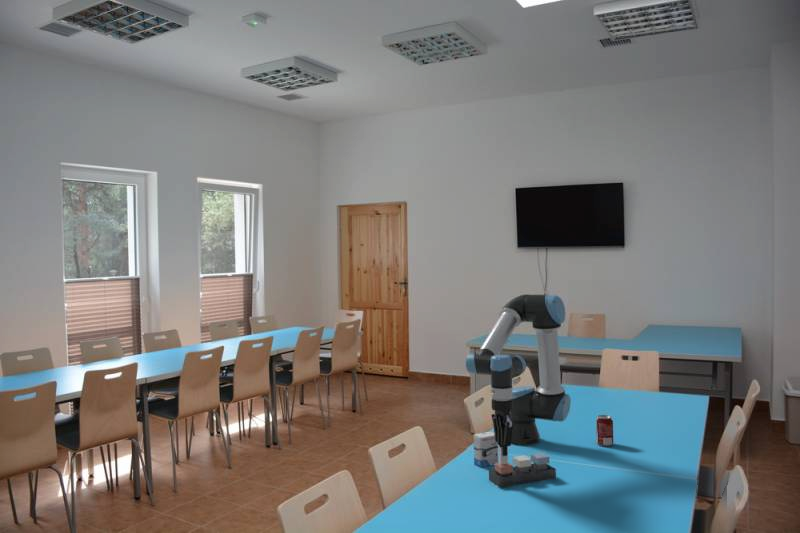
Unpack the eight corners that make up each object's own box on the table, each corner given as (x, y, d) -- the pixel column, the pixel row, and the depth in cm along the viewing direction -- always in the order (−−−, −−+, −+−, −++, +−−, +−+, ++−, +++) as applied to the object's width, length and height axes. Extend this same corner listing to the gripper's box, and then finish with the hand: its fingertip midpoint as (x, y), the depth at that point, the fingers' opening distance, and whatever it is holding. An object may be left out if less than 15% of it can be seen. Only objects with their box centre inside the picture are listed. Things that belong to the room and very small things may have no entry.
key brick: (501, 482, 219) (500, 467, 219) (494, 477, 224) (494, 463, 223) (513, 480, 220) (512, 465, 220) (506, 476, 225) (506, 461, 225)
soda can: (614, 447, 257) (613, 418, 257) (597, 446, 259) (597, 418, 258) (612, 442, 264) (611, 414, 264) (595, 441, 265) (595, 414, 265)
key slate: (538, 473, 224) (537, 458, 224) (531, 468, 228) (530, 454, 228) (549, 471, 225) (549, 456, 225) (542, 467, 230) (542, 452, 230)
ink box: (481, 468, 237) (480, 437, 237) (473, 464, 242) (472, 434, 242) (499, 464, 241) (498, 434, 241) (491, 460, 246) (490, 430, 245)
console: (499, 487, 217) (499, 478, 217) (489, 480, 225) (488, 470, 224) (555, 478, 224) (555, 469, 224) (544, 471, 232) (543, 462, 232)
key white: (519, 476, 221) (519, 461, 221) (513, 471, 226) (512, 457, 226) (531, 474, 223) (531, 459, 223) (524, 469, 227) (524, 455, 227)
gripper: (484, 395, 226) (485, 459, 227) (501, 403, 214) (502, 471, 214) (502, 393, 229) (504, 456, 229) (520, 401, 216) (521, 468, 217)
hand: (503, 463), depth 222 cm, fingers closed
